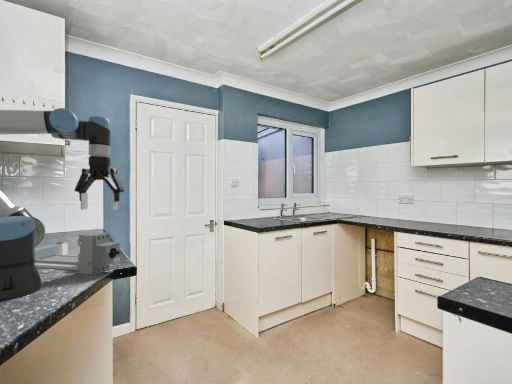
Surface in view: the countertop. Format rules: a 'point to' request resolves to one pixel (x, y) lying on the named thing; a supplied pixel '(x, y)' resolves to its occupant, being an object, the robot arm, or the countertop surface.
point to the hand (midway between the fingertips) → (99, 209)
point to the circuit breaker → (97, 252)
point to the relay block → (62, 247)
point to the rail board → (55, 258)
